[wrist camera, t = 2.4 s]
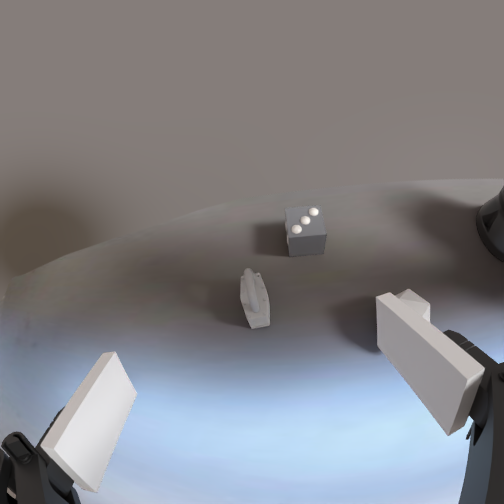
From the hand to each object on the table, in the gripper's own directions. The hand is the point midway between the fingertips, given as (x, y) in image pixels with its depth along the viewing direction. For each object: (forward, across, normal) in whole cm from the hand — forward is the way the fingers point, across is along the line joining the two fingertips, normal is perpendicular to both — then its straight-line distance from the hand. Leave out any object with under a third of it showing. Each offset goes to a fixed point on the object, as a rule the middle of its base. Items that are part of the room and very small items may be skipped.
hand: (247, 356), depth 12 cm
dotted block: (+38, +10, -4) cm, 40 cm away
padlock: (+31, 0, -12) cm, 33 cm away
